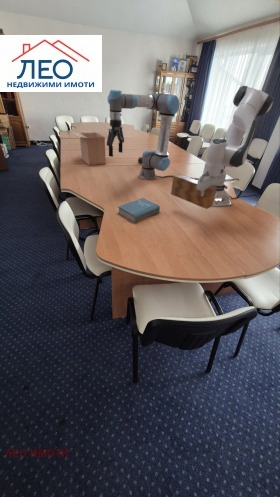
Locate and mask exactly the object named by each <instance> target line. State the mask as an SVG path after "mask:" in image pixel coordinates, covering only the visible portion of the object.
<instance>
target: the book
mask: <svg viewBox="0 0 280 497" xmlns="http://www.w3.org/2000/svg"><path fill="white" fill-rule="evenodd" d="M117 208H118V212H117V214H118V215H120V216H122V217H123V218H125V219H127V220H128V221H130V222H132V223H136V222H139V221H141V220H143V219H146V218H148V217H150V216H153V215H155V214H157V213H159V212H161V211H160V209H161V206H160V205H159V204H157V203H155V202H154V201H151V200H148V199H146V198H145V197H141V198H138V199H135V200H133V201H130V202H127V203H124V204H121V205H118V207H117Z"/></svg>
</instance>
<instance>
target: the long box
mask: <svg viewBox="0 0 280 497" xmlns="http://www.w3.org/2000/svg"><path fill="white" fill-rule="evenodd" d="M172 176H173V177H172V183H171V190H170V195H172V196H174V197H175V198H176V197H177V198H179V199H181V200H184V201H186V202H189V203H191V204H192V205H193V204H194V205H195V206H198V207H201V208H202V209H205V210H209V209H210V208H212V207H213V206H212V205H213V201H214V197H215V194H216V190H217V187H215V186H212V187H209V188H208V189H206V190H205V191H204V192H205V196H201V191H199V190H197V189H196V187H197V183H198V179H192V178H193V177H190V178H189V177H188V176H186V175H183V174H181V173H180V174H179V173H178V174H175V175H172Z"/></svg>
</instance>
